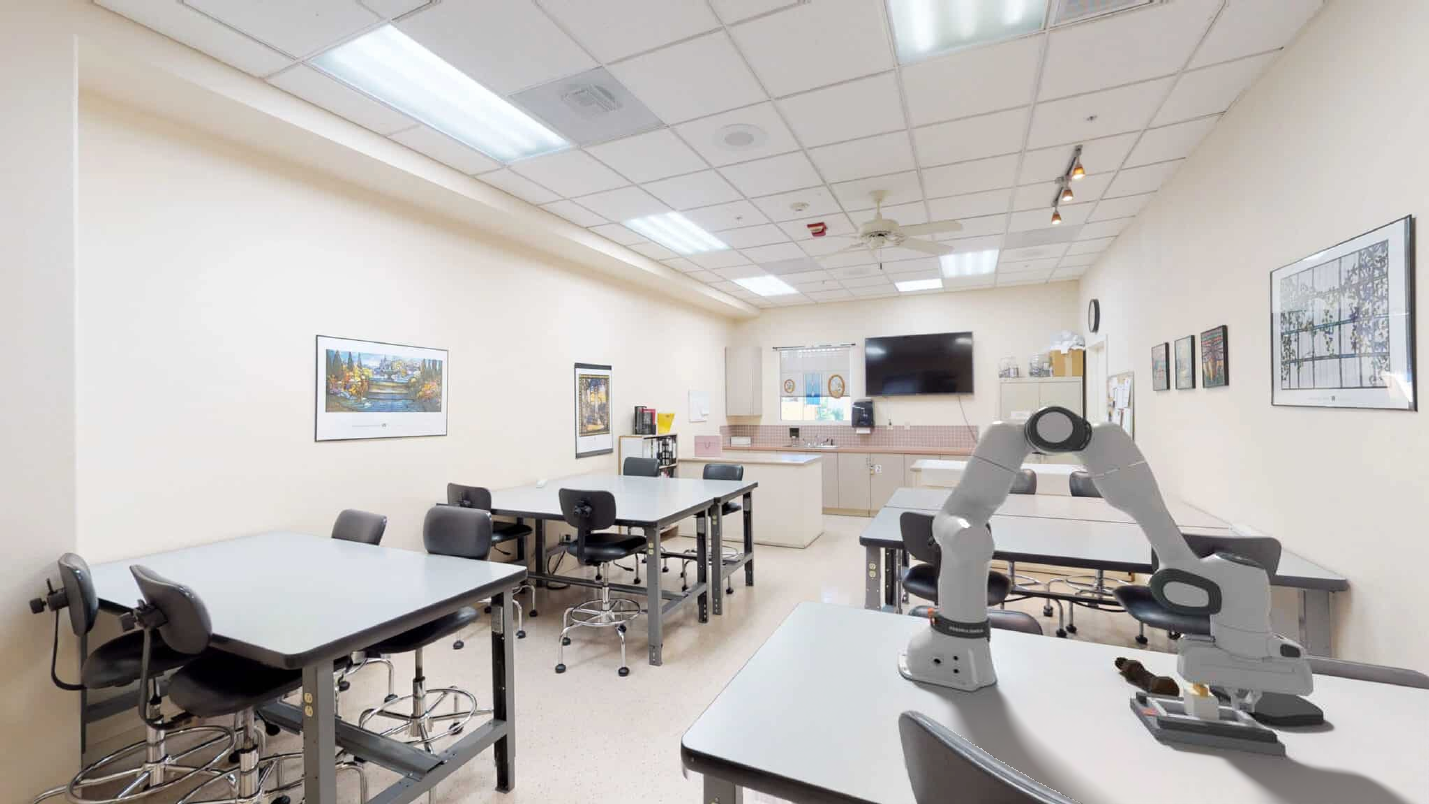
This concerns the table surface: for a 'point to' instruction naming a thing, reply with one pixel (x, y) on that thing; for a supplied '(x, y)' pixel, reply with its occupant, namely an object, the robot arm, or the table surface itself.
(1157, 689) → the dark brown lumpy rod
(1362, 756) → the table surface
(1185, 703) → the toggle
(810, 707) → the table surface
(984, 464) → the robot arm
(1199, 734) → the panel
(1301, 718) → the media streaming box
